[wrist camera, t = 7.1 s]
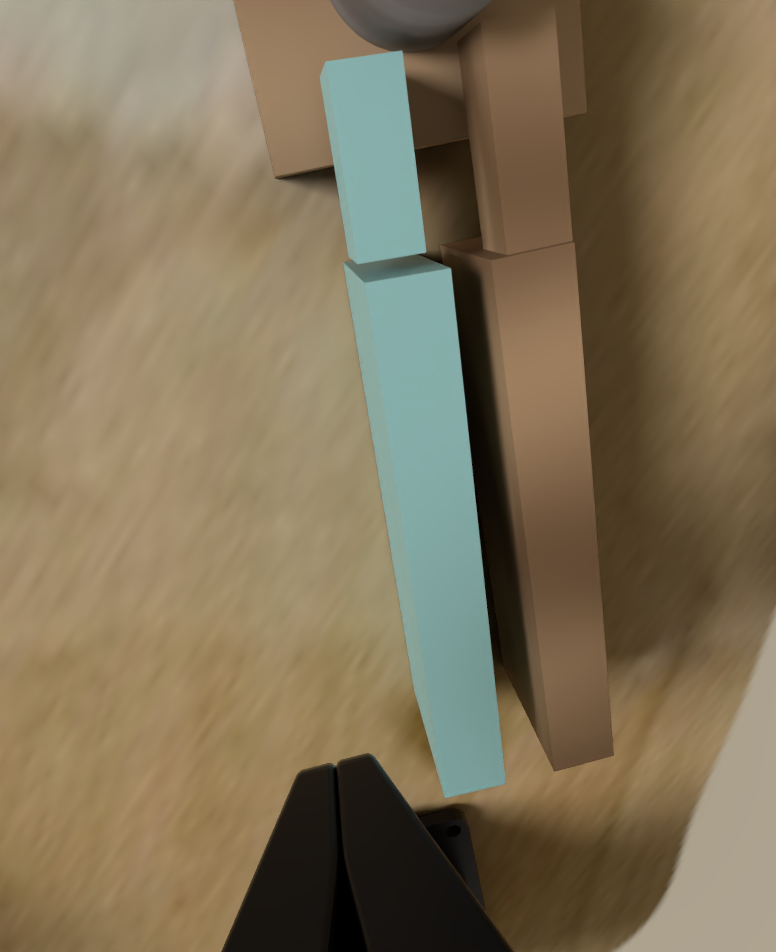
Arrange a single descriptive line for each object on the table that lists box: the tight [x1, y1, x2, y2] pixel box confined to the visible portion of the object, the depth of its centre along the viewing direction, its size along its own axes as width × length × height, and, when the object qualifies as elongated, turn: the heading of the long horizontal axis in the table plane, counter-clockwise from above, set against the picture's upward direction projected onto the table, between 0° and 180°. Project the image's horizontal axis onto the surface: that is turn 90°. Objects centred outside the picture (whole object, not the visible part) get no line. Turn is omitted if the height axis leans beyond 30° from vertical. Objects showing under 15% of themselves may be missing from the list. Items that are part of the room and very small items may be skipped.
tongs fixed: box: [233, 0, 614, 772], centre depth 13 cm, size 24×6×5 cm, turn 11°
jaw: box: [320, 51, 506, 798], centre depth 15 cm, size 15×2×4 cm, turn 8°
